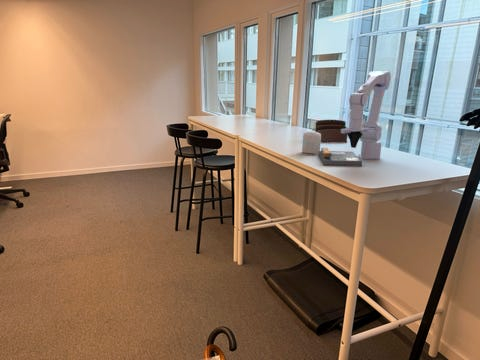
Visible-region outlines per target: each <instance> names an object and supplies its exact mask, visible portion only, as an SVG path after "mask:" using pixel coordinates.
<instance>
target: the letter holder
mask: <svg viewBox="0 0 480 360" xmlns="http://www.w3.org/2000/svg"><path fill="white" fill-rule="evenodd" d="M346 124H347V122H346V121H345V120H340V119H319V120H316V122H315V130H314V132H318V133H320V134H321V143H330V142H345V143H346V144H347V143H348V135H347V133H341V129H345V128H348V127H347V126H346ZM345 143H344V144H345Z"/></svg>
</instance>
